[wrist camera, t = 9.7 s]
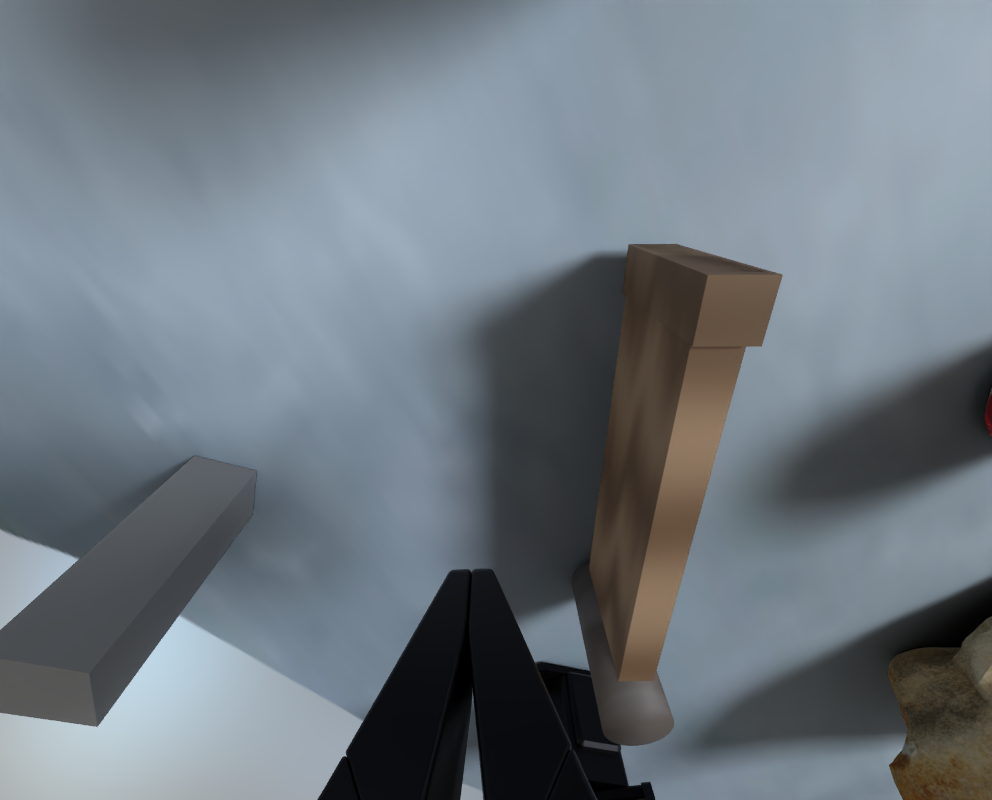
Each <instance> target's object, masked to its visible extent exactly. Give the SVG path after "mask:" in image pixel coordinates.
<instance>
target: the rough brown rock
mask: <svg viewBox="0 0 992 800" xmlns="http://www.w3.org/2000/svg"><path fill="white" fill-rule="evenodd" d="M888 677H889V680H890V683H891V686H892V689H893V692H894V694H895V696H896V698H897V700H898V702H899V705H900V710H901V713H902V716H903V718H904V720H905V722H906V724H907V727H908V731H907V737H906V740H905V744H904V747H903V750H902V751H901V752H900V753H899V754H898V755H897V757H896V758H895V759H894V761H893V762H892V763H891V764H890V765H889V767H890V770H891V773H892V776H893V779H894V782H895V784H896V786H897V788H898V790H899V792H900V795H901V797H902V799H903V800H992V616H991V617H989V618H987V619H986V620H985V621H984V622H983V623H982V624H980V625H979V626H978V627H977V628H976V629H975V630H974V631H973V632H972V633H971V634H970V635H968V636H967V637H966V638H965V640H964V641H963V643H962V646H961V648H943V647H925V648H919V649H913V650H909V651H906V652H903V653H901V654H898V655H896V656H895V657H894V658H893V659H892V660H891V661H890V664H889V669H888Z"/></svg>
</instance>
